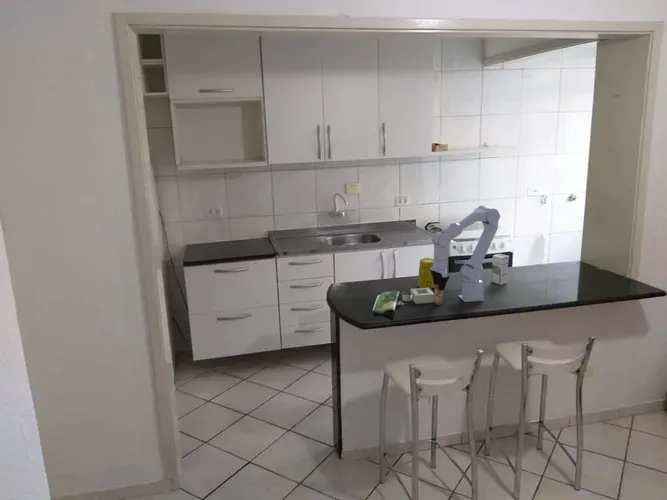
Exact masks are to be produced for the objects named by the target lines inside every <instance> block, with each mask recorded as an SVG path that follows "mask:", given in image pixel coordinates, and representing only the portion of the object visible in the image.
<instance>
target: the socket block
mask: <svg viewBox="0 0 667 500" xmlns="http://www.w3.org/2000/svg"><path fill="white" fill-rule="evenodd" d="M410 294H411V295H412V298H411V300H412V301H413V302H414V304H417V305H418V304H430V303H431V304H432V303H435V292H433V290H432V289H431V288H420V287H418V288H417V287H415V288H410ZM410 294H409V295H410Z"/></svg>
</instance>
